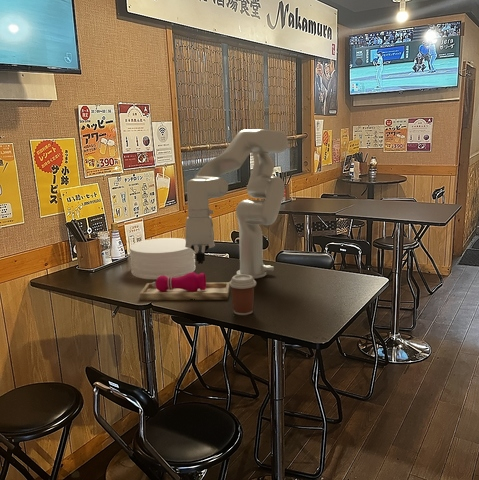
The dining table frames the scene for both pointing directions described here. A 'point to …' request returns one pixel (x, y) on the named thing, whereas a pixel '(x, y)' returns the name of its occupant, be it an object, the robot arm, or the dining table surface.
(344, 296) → the dining table surface
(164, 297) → the birch tray
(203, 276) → the pepper mill
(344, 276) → the dining table surface
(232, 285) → the coffee cup
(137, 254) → the plate stack
